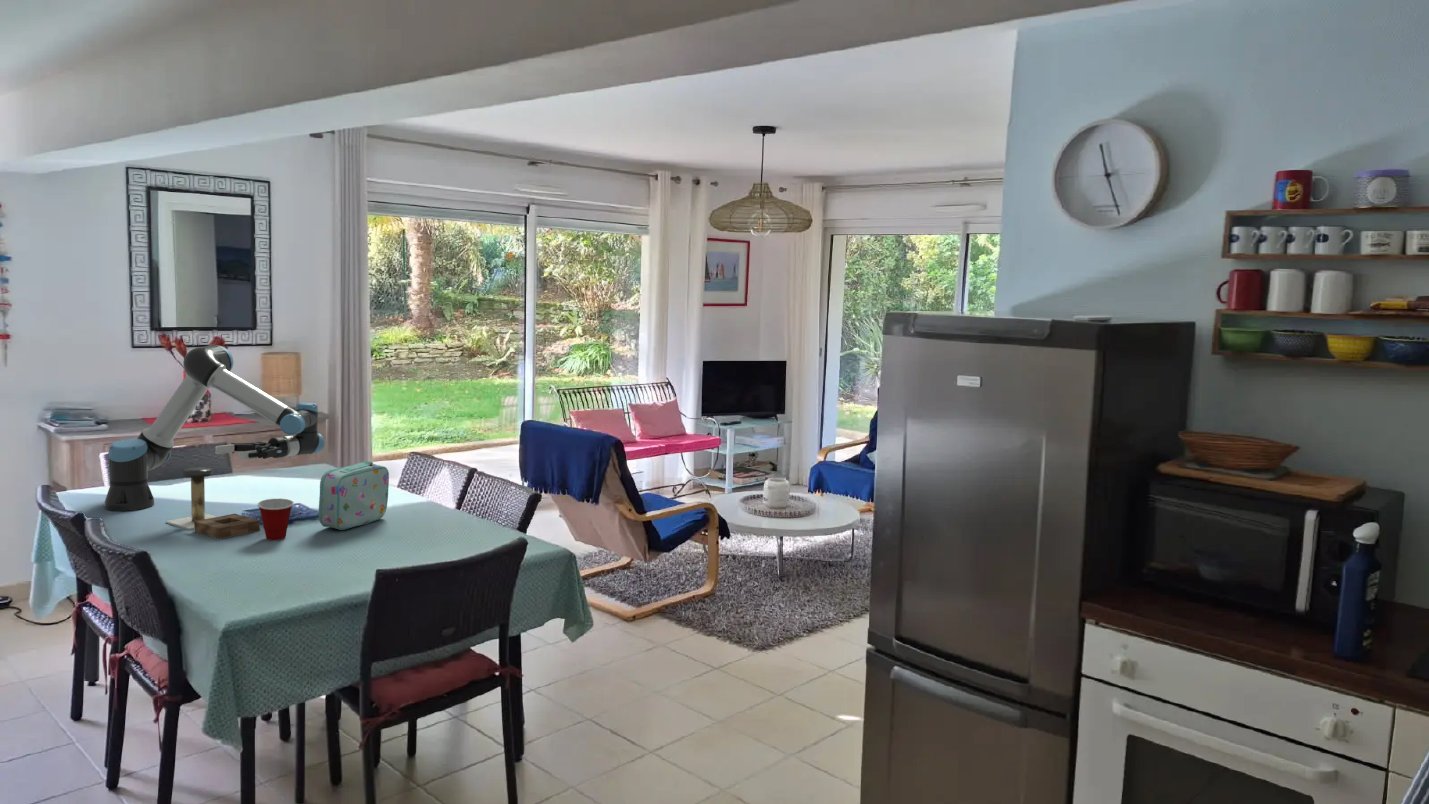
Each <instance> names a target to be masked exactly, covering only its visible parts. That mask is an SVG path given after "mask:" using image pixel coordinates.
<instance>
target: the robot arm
mask: <svg viewBox="0 0 1429 804" xmlns="http://www.w3.org/2000/svg"><path fill="white" fill-rule="evenodd" d="M233 358H234V357H233V355H232V353H231V352H230V351H229V350H228V349H227V348H226V347H225V346H221V345H217V344H210V345H206V346H201V347H200V346H199V347H195V348H192V349H191V350H189V351H188V352H187V353H186V354H185V355H184V358H183V364H182V365H183V369H184V374H185V378H184V379H182V381H181V383H180V384H179V386H178V387H177V388H176V390H175V391H174V393H173V395H171V397H170V399H169V400H168V401H167V403H166V404H165V405H164V407H163V408H162V410H161V412H160V413H159V414H158V416H157V417H156V419H155V420H154V422H153V423H152V424H151V426H150V427H146V428H144V429H143V430H142V431H141V432H140V433H139V435H138V437H137V438H127V439H123V440H117V441H114V442H112V443H111V444H110V445H109V447H108V454H107V455H108V469H109V473H108V474H109V488H108V491H107V494H106V496H105V499H104V509H105V510H107V511H108V510H109V511H117V512H118V511H119V512H124V511H125V512H126V511H137V510H143V509H148V508H151V507H153V506H155V498H154V496H153V493H152V490H151V488H150V485H149V477H148V472H149V471H151V470H155V469H158V468H160V467H162V466H163V465H164V464H166V463H167V462H168V461H169V459H170V457H171V455H172V449H173V448H174V447H175V440H174V438H175V437H176V436H177V435H178V433H179V431H180V430H181V428H183V426H184V425H185V423H186V421H187V420H188V419H189V418H190V417H191V414H192V413H193V411H194V410H195V408H196V407H197V406H198V404H199V403H200V402H201V400H202V399H203V397H204V396H205V394H206V393H207V392H208V390H209V389H213V388H214V389H216V390H217V391H220V393H223V394H224V395H226V396H228V397H230V398H231V399H233V400H234V401H236V402H238V403H239V404H241V405H243V406H244V407H246V408H248V409H250V410H251V411H253V412H255V413H257V414H258V415H260V416H262V417H264V418H265V419H267V420H269V421H270V422H273V424H276V425H277V426H278V427H280V430H281V431H282V432H283V433H284V434H286V436H285V435H284V436H276V437H271V438H269V440H268V442H260V441H257V442H231V443H230V444H225V445H216V446H215V452H214V454H215V455H221V454H235V452H237V460H238V461H244V460H251V459H252V460H253V459H263V460H266V459H269V458H273V459H279V458H286V457H288V458H290V459H291V458H292V456H293V457H295V456H302V455H303V456H304V455H313V454H318V453H321V452H322V451H323V449H324V448H325V440H324V437H323V435H322V434H321V433H318V423H319V422H318V421H319V409H318V408H319V407H318V404H317V403H315V402H309V401H308V402H307V401H306V402H305V401H304V402H303V401H302V402H298V403H297V404H296V407H295V409H293V408H291V407H290V406H288V405H287V404H285V403H283V402H282V401H280V400H278V399H277V398H275V397H274V396H272V395H270V394H268V393H266V392H265V391H263V390H261V389H260V388H258V387H256V386H255V385H253V384H252V383H250V382H248V381H246V380H245V379H243V378H242V377H239V376H238V375H236V374H235V373H233V372H231V371H232V370H233V366H234V359H233Z"/></svg>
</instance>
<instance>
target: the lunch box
mask: <svg viewBox="0 0 1429 804" xmlns="http://www.w3.org/2000/svg"><path fill="white" fill-rule="evenodd" d="M389 483H390V473H389V469H388V468H387V467H386V466H384V465H379V464H376V463H374V462H373V461H368V460H366V461H362V462H358V463H355V464H351V465H347V466H341V467H338V468H337V467H336V468H331V469H328V470H326V471H324V473H323V475H322V476H321V478H320V481H319V497H318V498H319V500H318V513H317V515H318V520H319V523H320V525H322V526H323V527H325V528H327V527H330V528H334V529H337V530H340V531H344V530H348V529H350V528H355V527H358V526H364V525H365V526H366V525H368V524H369V523H372V522H375V521H378V520H380V519H382V518H383V517H384V515H385V514H386V511H387V508H388V499H389V487H390V486H389Z"/></svg>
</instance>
